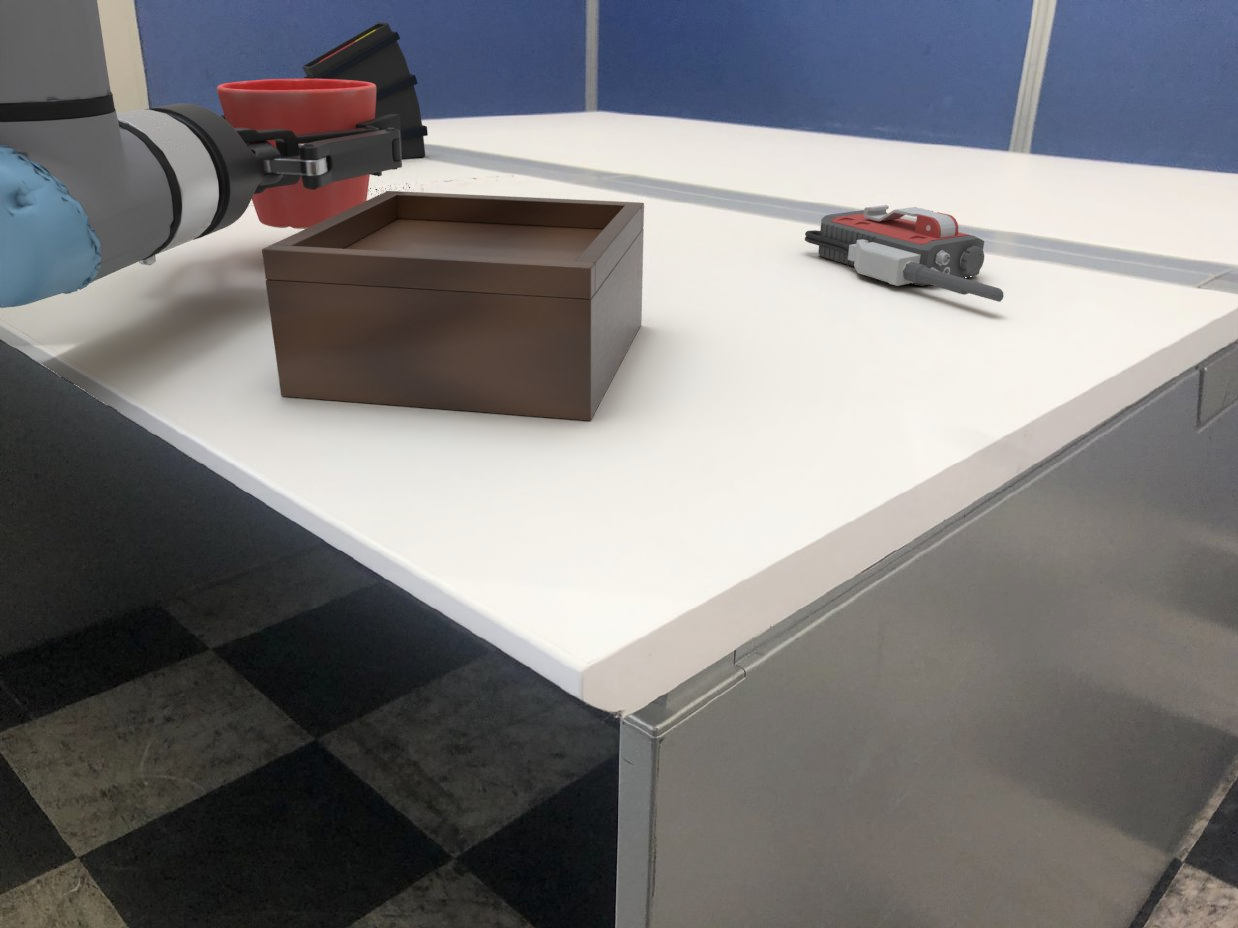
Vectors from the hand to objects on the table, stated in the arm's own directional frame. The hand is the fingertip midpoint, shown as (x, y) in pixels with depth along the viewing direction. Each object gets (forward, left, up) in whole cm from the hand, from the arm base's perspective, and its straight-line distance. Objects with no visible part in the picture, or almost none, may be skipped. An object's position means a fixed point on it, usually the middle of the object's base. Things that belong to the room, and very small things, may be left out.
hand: (328, 129), depth 79 cm
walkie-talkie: (+45, 0, -9) cm, 46 cm away
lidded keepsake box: (+19, -24, -9) cm, 32 cm away
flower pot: (0, -4, -6) cm, 7 cm away
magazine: (-15, +43, -9) cm, 46 cm away
